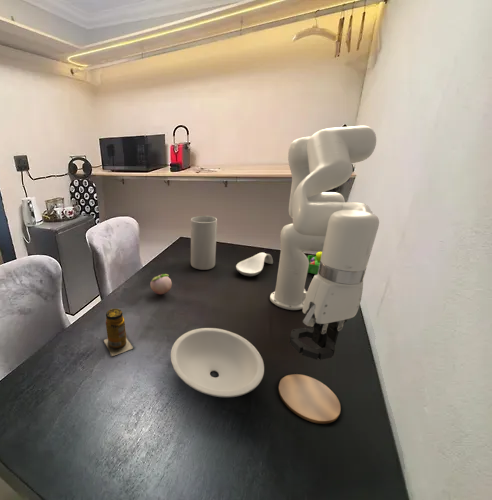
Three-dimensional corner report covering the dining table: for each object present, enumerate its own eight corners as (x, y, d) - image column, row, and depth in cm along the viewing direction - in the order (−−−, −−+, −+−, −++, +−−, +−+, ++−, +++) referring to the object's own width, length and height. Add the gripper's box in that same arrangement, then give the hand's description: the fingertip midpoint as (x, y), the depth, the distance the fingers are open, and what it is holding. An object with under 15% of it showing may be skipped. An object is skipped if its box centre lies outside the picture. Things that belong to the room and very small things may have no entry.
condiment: (123, 333, 92) (120, 304, 87) (133, 348, 84) (130, 317, 80) (103, 340, 89) (99, 310, 84) (112, 357, 82) (107, 325, 77)
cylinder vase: (217, 269, 132) (220, 222, 123) (192, 271, 133) (193, 223, 123) (211, 259, 144) (213, 215, 135) (188, 260, 144) (189, 216, 135)
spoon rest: (252, 282, 119) (254, 267, 116) (230, 273, 128) (231, 260, 125) (279, 266, 132) (281, 253, 129) (257, 259, 141) (258, 247, 138)
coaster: (310, 372, 72) (310, 369, 72) (354, 416, 60) (355, 414, 60) (267, 381, 70) (267, 379, 70) (304, 429, 58) (304, 427, 58)
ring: (312, 330, 65) (313, 325, 64) (342, 355, 57) (344, 349, 56) (281, 336, 63) (282, 331, 63) (309, 362, 56) (310, 357, 55)
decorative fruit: (161, 302, 108) (160, 281, 104) (147, 295, 114) (146, 274, 110) (176, 293, 114) (176, 273, 110) (162, 287, 120) (162, 267, 116)
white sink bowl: (251, 435, 58) (254, 414, 55) (155, 389, 70) (154, 370, 67) (268, 361, 76) (270, 343, 74) (190, 335, 88) (190, 319, 86)
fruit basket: (306, 264, 132) (310, 243, 128) (327, 267, 127) (332, 246, 123) (303, 273, 124) (307, 250, 120) (326, 277, 119) (331, 254, 115)
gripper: (356, 258, 58) (338, 326, 65) (292, 269, 56) (281, 338, 63) (392, 273, 51) (367, 347, 58) (322, 286, 49) (305, 361, 56)
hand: (322, 342), depth 61 cm, fingers closed on ring, 2 cm apart
